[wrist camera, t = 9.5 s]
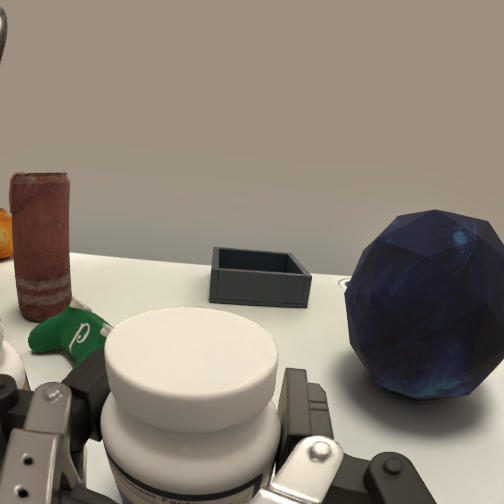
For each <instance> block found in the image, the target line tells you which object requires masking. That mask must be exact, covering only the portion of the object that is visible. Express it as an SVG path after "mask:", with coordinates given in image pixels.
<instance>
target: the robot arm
mask: <svg viewBox="0 0 504 504" xmlns="http://www.w3.org/2000/svg"><path fill="white" fill-rule="evenodd" d="M6 38H7V17H6V14H5V11H4V10H3V8H2V7H1V6H0V63H1V60H2V56H3V52H4V48H5V44H6ZM110 392H111V390H110V387H109V383H108V376H107V371H106V363H105V353H104V348H103V347H102V348H100V349H98V350H95V351H93V352H91V353H90V354H89V355H88V356H87V357H86V358H85V361H84V360H83V361H82V362H81V363H80V364H79V366H77V367H76V368H75V369H74V370H73V371H72V372H71V373H70V374H69V375H68V376H67V377H66V378H65V379H64V380H63V381H62V382H61V383H57V382H49V383H45V384H42V385H40V386H39V387H37V388H36V389H35V391H28V390H22V389H18V387H17V384H16V381H15V379H14V378H13V377H12V376H10V375H7V374H0V504H118V503H117V502H115V501H113V500H112V499H110V498H109V497H107V496H104V495H102V494H99V493H97V492H94V491H92V490H89V489H87V488H86V465H87V447H86V444H85V443H86V442H87V440H88V439H89V438H90V439H93V440H95V441H98V442H100V441H101V440H102V434H101V424H100V421H101V413H102V409H103V406H104V403H105V401H106V399H107V397H108V395H109V394H110ZM278 416H279V420H280V427H281V434H280V443H279V449H278V453H277V457H276V466H275V477H274V479H273V480H272V482H271V483H270V484H269V485H268V486H263V487H262V488H261V489H260V490H259V491H258V492H257V493H256V495H255V496H254V497H253V499H252V500H251V501H250V502H249V504H437V503H436V502H435V500H434V498H433V497H432V495H431V493H430V492H429V490H428V488H427V487H426V485H425V484H424V482H423V480H422V479H421V477H420V475H419V474H418V472H417V470H416V469H415V467H414V466H413V464H412V462H411V461H410V460H409V459H408V458H407V457H405V456H404V455H402V454H399V453H395V452H383V453H380V454H377V455H376V456H374V457H373V458H372V460H371V461H369V460H364V459H359V458H355V457H352V456H349V455H347V454H345V453H344V452H343V449H342V447H341V446H340V445H339V444H338V443H337V442H336V441H334V436H333V431H332V425H331V419H330V414H329V408H328V404H327V397H326V392H325V391H324V390H323V389H322V387H321V386H320V385H319V384H316V383H308V382H307V374H306V370H305V369H295V368H286V369H285V373H284V378H283V383H282V389H281V394H280V399H279V405H278Z"/></svg>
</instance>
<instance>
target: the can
mask: <svg viewBox="0 0 504 504" xmlns="http://www.w3.org/2000/svg"><path fill="white" fill-rule="evenodd" d="M69 192H70V181H69V179H68V176H67V173H24V172H19V173H15V174H14V175H12V178H11V179H10V191H9V203H10V213H11V212H12V242H13V257H14V269H15V278H16V287H17V295H18V302H19V308H20V311H21V312H22V314H23V315H24V316H25V317H26V318H27V319H29V320H32V321H37V322H44V321H45V320H47V319H49V318H51V317H53V316H55V315H58V314H60V313H61V312H63V311H64V310H65V309H66V308H67V306H68V305H69V304H70V303H71V301H72V291H71V278H70V258H69Z"/></svg>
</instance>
